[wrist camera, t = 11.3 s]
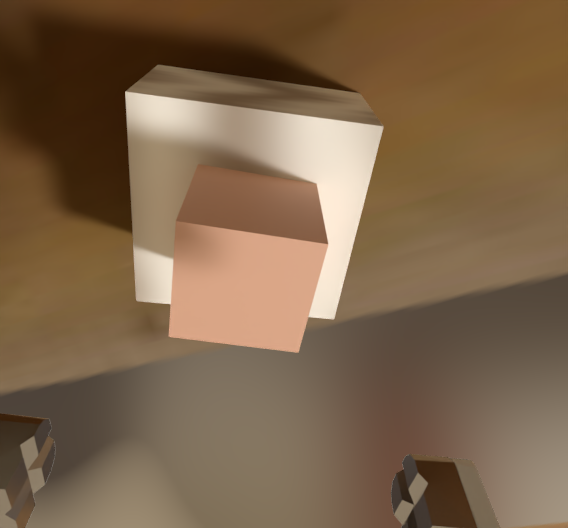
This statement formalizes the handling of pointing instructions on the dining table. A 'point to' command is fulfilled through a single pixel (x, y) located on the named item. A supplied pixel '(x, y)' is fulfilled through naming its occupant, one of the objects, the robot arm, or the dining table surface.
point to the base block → (244, 159)
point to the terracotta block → (246, 259)
